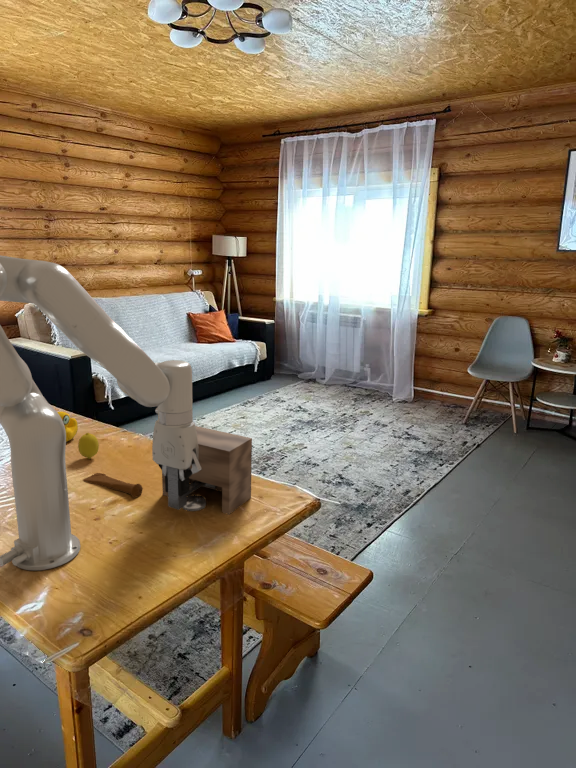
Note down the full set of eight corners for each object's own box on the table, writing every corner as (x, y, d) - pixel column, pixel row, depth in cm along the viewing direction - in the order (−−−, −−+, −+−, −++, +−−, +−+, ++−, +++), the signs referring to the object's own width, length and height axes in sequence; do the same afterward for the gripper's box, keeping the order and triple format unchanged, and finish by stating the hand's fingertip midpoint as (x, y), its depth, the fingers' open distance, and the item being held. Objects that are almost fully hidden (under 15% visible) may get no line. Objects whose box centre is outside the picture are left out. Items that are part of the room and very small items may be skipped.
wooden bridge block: (229, 514, 126) (229, 451, 121) (162, 494, 134) (160, 435, 130) (251, 497, 134) (251, 438, 130) (187, 480, 143) (186, 423, 139)
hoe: (182, 510, 121) (181, 462, 118) (164, 505, 123) (163, 457, 120) (217, 487, 133) (217, 442, 130) (201, 482, 136) (200, 438, 132)
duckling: (59, 449, 161) (56, 417, 158) (44, 446, 162) (41, 415, 160) (83, 436, 172) (81, 407, 169) (69, 434, 173) (66, 405, 170)
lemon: (101, 460, 154) (100, 434, 152) (81, 463, 151) (80, 437, 149) (96, 453, 158) (94, 428, 156) (77, 457, 155) (75, 431, 153)
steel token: (196, 514, 126) (195, 508, 125) (175, 508, 128) (175, 502, 128) (210, 504, 131) (210, 498, 130) (191, 498, 133) (191, 492, 133)
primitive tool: (81, 481, 141) (80, 469, 140) (98, 474, 145) (97, 462, 145) (133, 501, 132) (133, 488, 131) (149, 492, 136) (149, 480, 135)
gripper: (135, 414, 118) (138, 490, 123) (195, 427, 111) (196, 507, 116) (158, 406, 125) (160, 478, 129) (215, 418, 118) (215, 493, 122)
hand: (177, 491), depth 123 cm, fingers closed on hoe, 3 cm apart
